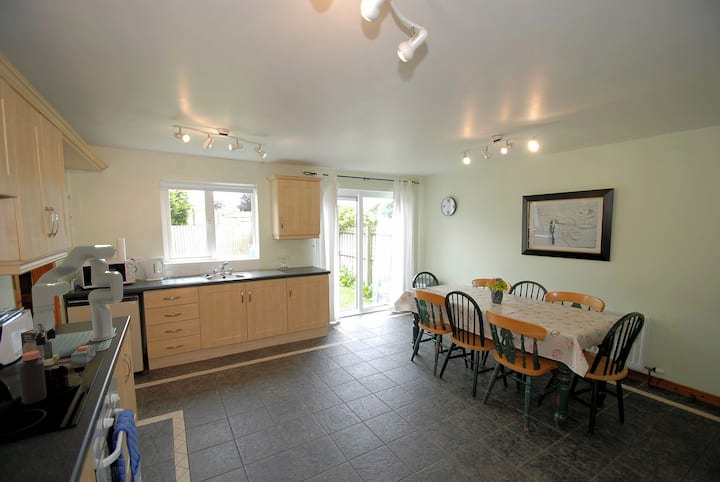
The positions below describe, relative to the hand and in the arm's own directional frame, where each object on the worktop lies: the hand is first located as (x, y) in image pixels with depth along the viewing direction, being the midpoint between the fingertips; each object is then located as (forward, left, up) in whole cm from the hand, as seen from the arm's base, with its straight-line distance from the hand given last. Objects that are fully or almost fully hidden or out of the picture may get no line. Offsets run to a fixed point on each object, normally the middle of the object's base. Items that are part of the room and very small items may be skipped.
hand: (46, 341), depth 154 cm
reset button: (-1, +14, -9) cm, 16 cm away
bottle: (+35, +10, -14) cm, 39 cm away
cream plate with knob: (-1, 0, -11) cm, 11 cm away
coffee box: (-17, -11, -14) cm, 24 cm away
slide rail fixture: (-1, +6, -14) cm, 15 cm away
